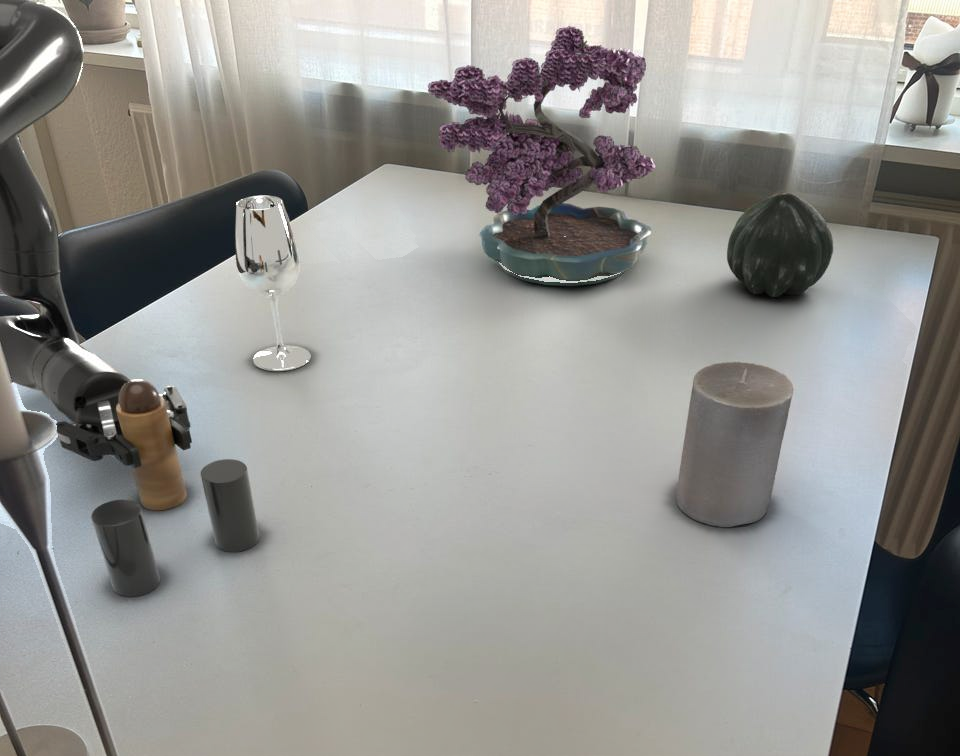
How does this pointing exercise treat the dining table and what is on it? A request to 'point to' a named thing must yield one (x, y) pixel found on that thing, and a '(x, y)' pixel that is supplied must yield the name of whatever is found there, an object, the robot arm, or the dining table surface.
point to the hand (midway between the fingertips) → (161, 449)
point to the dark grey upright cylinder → (126, 547)
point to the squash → (780, 246)
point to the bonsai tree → (551, 163)
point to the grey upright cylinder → (230, 505)
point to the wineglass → (268, 268)
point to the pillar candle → (732, 442)
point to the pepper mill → (151, 445)
